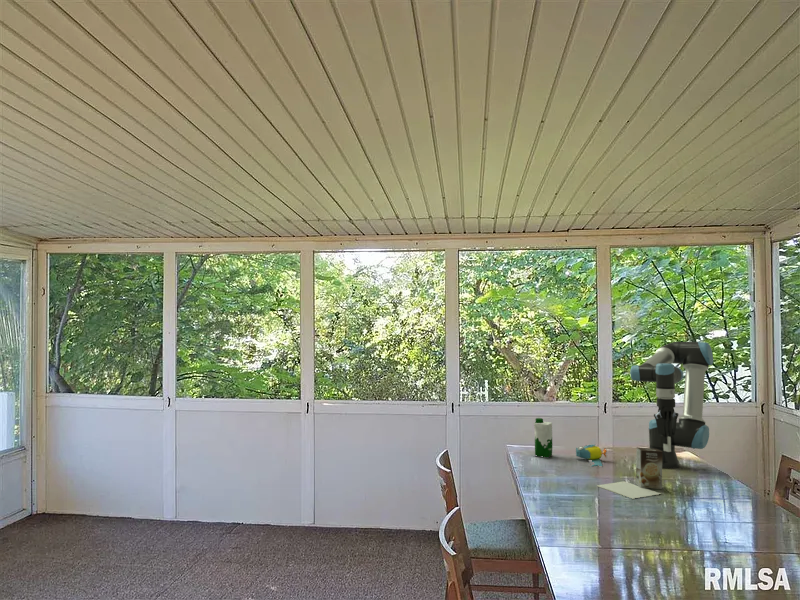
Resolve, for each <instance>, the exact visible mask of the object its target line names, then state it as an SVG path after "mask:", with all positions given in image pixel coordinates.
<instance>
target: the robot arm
mask: <svg viewBox="0 0 800 600" xmlns="http://www.w3.org/2000/svg"><path fill="white" fill-rule="evenodd" d="M675 364H676V365H677V364H678V365H679V364H680V365H682V367H683V369H684V370H685V375H684V372H683V370H682V369H681V368H680V367H679V366H675ZM713 364H714V355H713V351H712V347H711V345H710V343H708V342H706V341H672V342H669V343H667V344H664V345H662V346H661V347H658V348H657V349H656V351H655V352H654V354H653V355H651V357H649V358H648V359H647V360H645V362H643V363H642V364H641V365H638V364H637V365H632V366H631V368H630V371H629V376H630V378H631V380H632V381H634V382H645V383H648V382H649V383H655V386H656V387H655V388H656V389H655V391H656V392H655V394H656V397H657V398H656V406H657V407H658V409H657V413H653V417H654V419H651V420H649V422H648V439H649V441H648V442H649V448H650V449H658V450H660V451H662V469H677V468H680V461H679V459H678V456H677V453H676V447H682V448H688V449H697V450H703V449H705V447H707V445H708V443H709V437H710V428H709V426H708V425H706V421H705V420H704V419H703V413H704V411H703V409H704V408H703V407H704V393H705V376H706V371H708V370H709V368H710V366H712V365H713ZM684 377H685V378H684ZM683 378H684V390H683V392H684V393H683V407H682V408H683V409H682V416H680V417H679V415H680V414H679V413H678V412H676V411H675V409H674V408H675V407H676V399H675V398H676V389H675V387H676V386H675V384H678V383H680V382H681V381H682V380H683ZM678 417H679V418H678ZM677 421H678V422H677Z"/></svg>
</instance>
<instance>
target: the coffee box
mask: <svg viewBox="0 0 800 600" xmlns="http://www.w3.org/2000/svg"><path fill="white" fill-rule="evenodd" d="M635 454H636V458H635V460H636V462H635V464H636V465H635V468H636V469H635V485H637V486H639V487H642V488H646V489H655V490H656V489H657V490H663V468H662V451H660V450H658V449H650V447H649V448H647V447H636V453H635Z"/></svg>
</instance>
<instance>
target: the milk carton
mask: <svg viewBox="0 0 800 600" xmlns="http://www.w3.org/2000/svg"><path fill="white" fill-rule="evenodd" d="M533 427H534V456H535V455H537V456H543V457H542V458H544V457H549V456H550V457H552V456H553V422H551V421H549V422H548V421H544V419H543V418H541V417H536V418H535V422H534V423H533ZM551 455H552V456H551ZM550 457H549V458H550Z"/></svg>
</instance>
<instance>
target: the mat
mask: <svg viewBox="0 0 800 600" xmlns="http://www.w3.org/2000/svg"><path fill="white" fill-rule="evenodd" d="M596 487H598V488H600V489H602V490H606V491H608V492H611V493H614V494H616V495H619V494H620V495H619V496H622V495H623V497H625V496H626V497H625V498H627V497H629V498H628V499H630V498H632V499H631V500H636V499H635V498H638V499H641V498H640V497H644V498H647V497H646V496H650V497H653V496H652V495H656V496H660V495H659V494H661V495H662V493H660V492H658V491H654V490H651V489H650V488H642V487H639V486H638V485H637V484H634V483H630V482H627V481H625V480H623V481H618V482H616V481H615V482H610V483H603V484H597V485H596Z"/></svg>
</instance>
